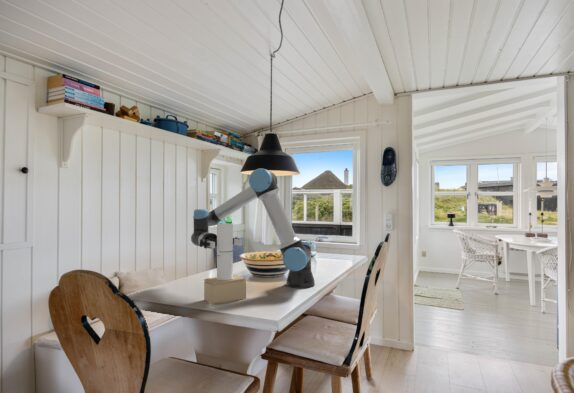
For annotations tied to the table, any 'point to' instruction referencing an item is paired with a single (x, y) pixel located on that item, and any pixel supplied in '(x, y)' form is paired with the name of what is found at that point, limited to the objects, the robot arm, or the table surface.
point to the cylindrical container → (224, 251)
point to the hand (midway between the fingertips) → (228, 243)
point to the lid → (219, 282)
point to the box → (224, 292)
